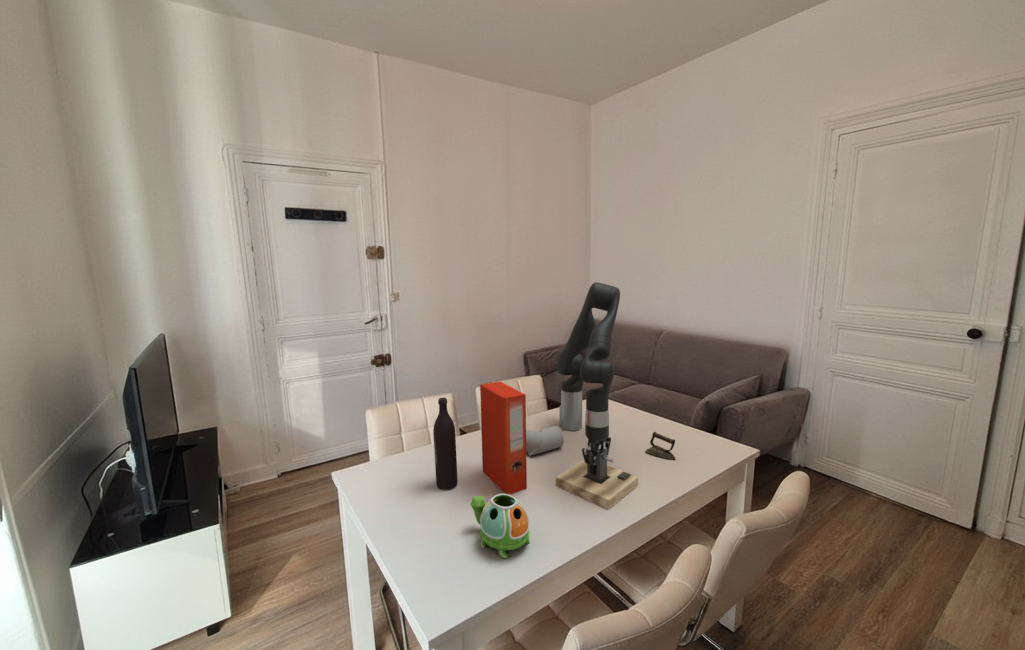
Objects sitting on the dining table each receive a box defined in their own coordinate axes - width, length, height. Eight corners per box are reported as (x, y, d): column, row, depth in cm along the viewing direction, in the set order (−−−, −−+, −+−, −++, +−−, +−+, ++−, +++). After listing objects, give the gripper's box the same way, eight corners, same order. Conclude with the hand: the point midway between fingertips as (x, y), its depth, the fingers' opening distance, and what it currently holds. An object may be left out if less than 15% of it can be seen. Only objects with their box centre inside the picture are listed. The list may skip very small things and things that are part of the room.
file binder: (502, 466, 149) (500, 381, 144) (527, 488, 134) (525, 394, 129) (482, 472, 145) (479, 384, 140) (505, 495, 130) (502, 398, 126)
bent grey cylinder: (522, 462, 150) (567, 449, 159) (518, 433, 150) (563, 422, 159) (501, 453, 165) (542, 442, 175) (497, 427, 166) (539, 417, 175)
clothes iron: (653, 448, 162) (660, 426, 159) (678, 464, 153) (686, 442, 151) (643, 451, 157) (650, 429, 155) (668, 468, 149) (676, 445, 147)
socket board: (555, 485, 136) (555, 474, 135) (586, 465, 148) (586, 455, 148) (608, 509, 122) (608, 497, 121) (638, 485, 134) (638, 474, 134)
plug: (587, 478, 135) (587, 449, 133) (593, 473, 138) (594, 445, 136) (608, 486, 129) (608, 456, 128) (615, 481, 132) (615, 452, 131)
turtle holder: (490, 514, 121) (488, 476, 119) (539, 540, 109) (538, 498, 107) (458, 536, 111) (456, 495, 110) (508, 566, 100) (507, 521, 98)
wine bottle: (449, 477, 142) (445, 393, 138) (462, 484, 137) (458, 398, 133) (432, 485, 138) (427, 399, 133) (444, 493, 132) (439, 404, 128)
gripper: (599, 413, 139) (598, 460, 142) (574, 425, 129) (574, 476, 132) (619, 418, 134) (618, 467, 137) (594, 431, 124) (594, 484, 127)
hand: (596, 471), depth 134 cm, fingers closed on plug, 4 cm apart
